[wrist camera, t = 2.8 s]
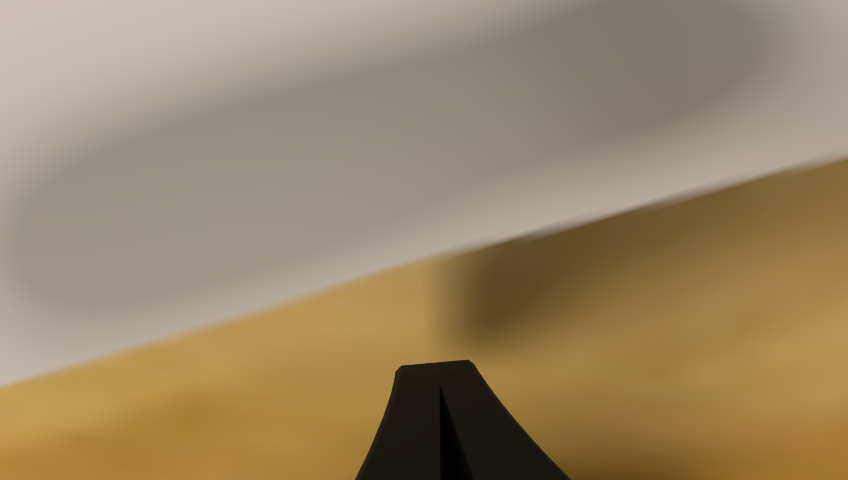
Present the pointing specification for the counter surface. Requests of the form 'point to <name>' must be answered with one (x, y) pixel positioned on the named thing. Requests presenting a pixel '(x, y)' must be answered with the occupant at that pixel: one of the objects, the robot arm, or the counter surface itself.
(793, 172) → the counter surface
